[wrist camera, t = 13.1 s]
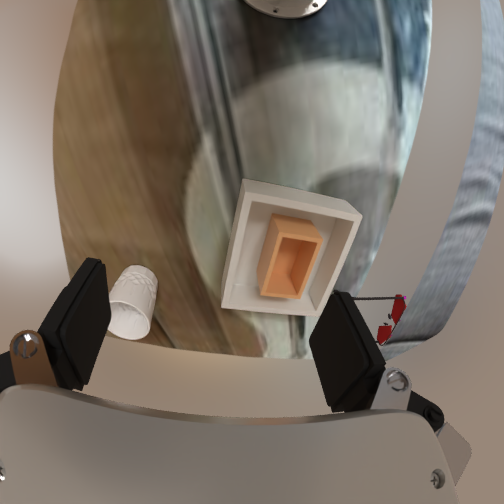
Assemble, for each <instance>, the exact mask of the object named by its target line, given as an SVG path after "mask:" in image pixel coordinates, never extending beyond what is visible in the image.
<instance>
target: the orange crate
mask: <svg viewBox="0 0 504 504" xmlns="http://www.w3.org/2000/svg"><path fill="white" fill-rule="evenodd" d="M322 242H323V238H322V237H321V235H320V234H319V232H318V231H317V229H316V228H315V226H314V224H313V223H312V221H311V220H306V219H301V218H296V217H291V216H285V215H280V214H274V213H272V215H271V218H270V222H269V226H268V229H267V233H266V237H265V241H264V244H263V248H262V252H261V255H260V259H259V263H258V266H257V270H256V273H257V278H258V284H259V290H260V295H263V296H272V297H282V298H291V299H300V298H301V296H302V293H303V291H304V288H305V286H306V283H307V281H308V278H309V276H310V273H311V271H312V268H313V266H314V263H315V260H316V258H317V255H318V253H319V250H320V247H321V244H322Z"/></svg>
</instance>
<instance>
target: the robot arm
mask: <svg viewBox="0 0 504 504" xmlns="http://www.w3.org/2000/svg"><path fill="white" fill-rule="evenodd" d="M244 1H245V2H246V3H247V4H248V5H249V6H251V7H252V8H254V9H256V10H257V11H259V12H261V13H264V14H266V15H270V16H273V17H278V18H289V19H294V18H302V17H305V16H309V15H311V14H313V13H315V12H317V11H318V10H319V9H321V8H322V7H323V6H324V4H325V3H326V2H327V0H244ZM313 6H314V7H315V8H314V7H313ZM273 11H276V12H277V13H275V12H273ZM111 315H112V314H111V307H110V300H109V293H108V286H107V277H106V267H105V264H102V262H101V260H100V259H94V258H89V257H88V258H86V260H85V261H84V262H83V264H82V265H81V267H80V268H79V269H78V271H77V272H76V274H75V275H74V277H73V278H72V280H71V281H70V283H69V284H68V286H66V287H65V288H64V289H63V290H62V292H61V293H60V295H59V296H58V298H57V299H56V301H55V302H54V304H53V306H52V307H51V309H50V311H49V312H48V314H47V316H46V317H45V319H44V321H43V322H42V324H41V326H40V328H39V329H38V331H37V332H35V331H33V330H24V331H21V332H19V333H17V334H16V335H15V336H14V337H13V339H12V340H11V343H10V351H8V352H5V353H3V354H1V355H0V504H459V500H458V496H457V493H456V489H455V486H456V484H457V482H458V480H459V479H460V477H461V475H462V473H463V471H464V469H465V467H466V465H467V463H468V461H469V459H470V457H471V454H472V453H471V447H470V445H469V443H468V442H467V441H466V440H465V439H464V438H463V437H462V436H461V435H460V434H459V433H458V432H457V431H456V430H455V429H454V428H453V427H452V426H451V425H450V424H449V423H448V422H446V423H444V415H443V412H442V410H441V409H440V408H439V407H438V406H437V405H435V404H434V403H432V402H430V401H429V400H427V399H425V398H423V397H422V396H420V395H418V394H417V393H415V392H413V391H412V390H411V388H412V384H411V380H410V378H409V376H408V375H407V374H406V373H405V372H404V371H402V370H400V369H399V368H394V367H391V368H388V369H386V368H385V364H386V362H385V360H384V358H383V356H382V354H381V352H380V350H379V348H378V346H377V344H376V342H375V340H374V338H373V336H372V334H371V332H370V330H369V328H368V326H367V325H366V323H365V321H364V319H363V317H362V315H361V313H360V312H359V310H358V308H357V306H356V304H355V302H354V300H353V299H352V297H351V295H350V294H349V293H348V292H339V291H337V292H335V293H334V294H332V295H331V296H330V297H329V299H328V301H327V304H326V306H325V308H324V310H323V312H322V314H321V316H320V318H319V320H318V322H317V324H316V326H315V328H314V330H313V332H312V334H311V336H310V339H309V344H310V348H311V351H312V354H313V358H314V361H315V364H316V368H317V371H318V375H319V378H320V381H321V385H322V388H323V392H324V395H325V399H326V402H327V405H328V406H331V410H332V412H333V413H334V412H343V411H344V412H345V413H338V414H328V415H317V416H304V417H283V418H239V417H218V416H205V415H194V414H185V413H177V412H169V411H162V410H156V409H150V408H144V407H139V406H134V405H128V404H124V403H119V402H115V401H110V400H106V399H102V398H98V397H94V396H90V395H86V394H83V393H79V392H75V391H72V390H73V389H77V390H80V391H82V389H83V386H84V385H87V384H88V382H89V379H90V376H91V373H92V370H93V367H94V364H95V361H96V359H97V356H98V353H99V350H100V347H101V345H102V342H103V339H104V337H105V334H106V332H107V329H108V327H109V324H110V321H111Z"/></svg>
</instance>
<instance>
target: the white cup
mask: <svg viewBox="0 0 504 504" xmlns="http://www.w3.org/2000/svg"><path fill="white" fill-rule="evenodd" d="M157 289H158V280H157V278H156V276H155V275H154V273H153V272H152V271H150V270H149V269H148V268H146V267H143V266H140V265H132V266H129V267H128V268H126V269H124V271H123V273H122V274H121V276H120V278H119V279H118V280H117V281H116V283H115V285H114V286H113V288H112V289H111V291H110V293H109V300H110V307H111V314H112V315H111V321H110V324H109V327H108V330H109V331H110V332H112V333H113V334H115V335H117V336H119V337H121V338H124V339H129V340H137V339H141V338H143V337H145V336H146V335H147V334H148V333H149V330H150V326H151V321H152V316H153V311H154V306H155V301H156V293H157Z"/></svg>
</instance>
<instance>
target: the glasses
mask: <svg viewBox="0 0 504 504" xmlns="http://www.w3.org/2000/svg"><path fill="white" fill-rule="evenodd" d="M334 292H337V290H334ZM339 292H340V291H339ZM352 299H353V300H383V299H395V301H394V305H393V309H392V314H391V315H390V314H388V318H389V319H391V318H392V319H393V321H394V323H395V324H396V325H397V323H398V321H400V318H401V316H402V314H403V312H404V310H405V309H406V307H407V306H406V304H405V301H404V299H406V296H404V297H402V295H396V296H395V297H374V298H356V297H352ZM391 316H392V317H391ZM384 324H385V325H388V324H387V323H384ZM396 325H395V326H394V328H395V327H396ZM391 328H392V326H391V325H390V326H379V329H378V335H377V341H375V342H376V343H379V345H381V343H383V342H384V341H385V340H386V342H387V340H388V339H389V338H390V337H391V336H392V335H391V333H392V332H393V330H394V328H393V330H392V332H391ZM386 342H385V343H386ZM385 343H384V344H385ZM384 344H383V345H384ZM383 345H381V346H383Z"/></svg>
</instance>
